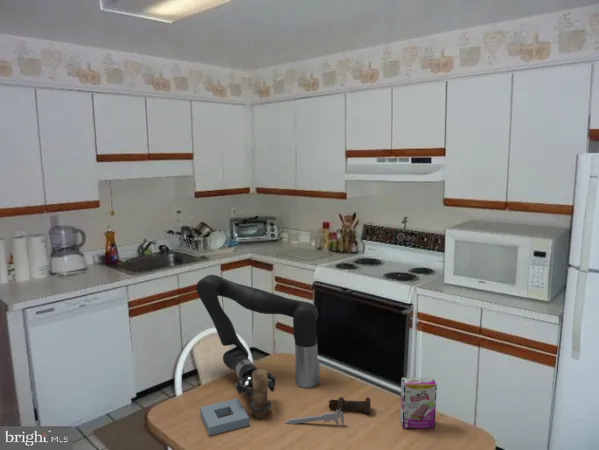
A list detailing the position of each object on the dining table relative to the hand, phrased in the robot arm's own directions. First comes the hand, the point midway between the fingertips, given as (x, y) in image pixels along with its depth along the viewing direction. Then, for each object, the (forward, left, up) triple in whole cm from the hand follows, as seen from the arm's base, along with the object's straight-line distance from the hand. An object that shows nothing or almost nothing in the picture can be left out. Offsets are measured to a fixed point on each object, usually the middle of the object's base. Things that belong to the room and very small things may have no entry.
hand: (261, 391), depth 161 cm
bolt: (-30, +10, -10) cm, 33 cm away
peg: (0, -2, -9) cm, 10 cm away
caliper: (-15, +12, -10) cm, 22 cm away
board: (+13, -4, -9) cm, 17 cm away
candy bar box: (-47, +28, -10) cm, 55 cm away
